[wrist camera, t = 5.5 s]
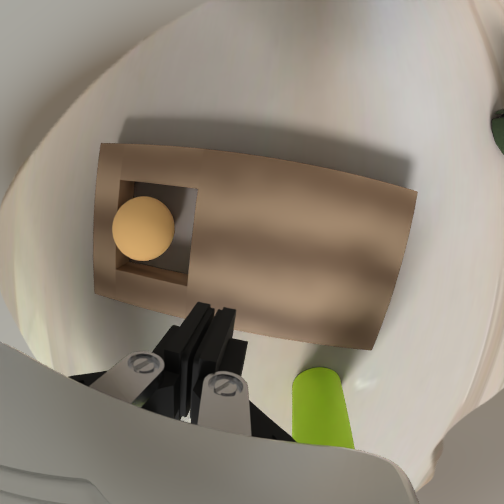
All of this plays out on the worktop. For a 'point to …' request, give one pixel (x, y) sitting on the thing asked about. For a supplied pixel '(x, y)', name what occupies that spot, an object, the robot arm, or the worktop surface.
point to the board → (262, 242)
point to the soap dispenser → (320, 409)
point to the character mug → (499, 130)
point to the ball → (143, 228)
